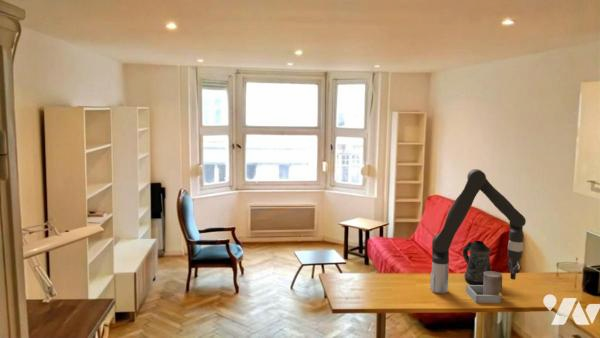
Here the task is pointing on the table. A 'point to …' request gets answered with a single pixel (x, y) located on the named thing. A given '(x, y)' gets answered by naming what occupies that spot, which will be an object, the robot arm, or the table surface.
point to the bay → (475, 289)
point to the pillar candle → (492, 283)
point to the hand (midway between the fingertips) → (512, 279)
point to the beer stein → (476, 262)
